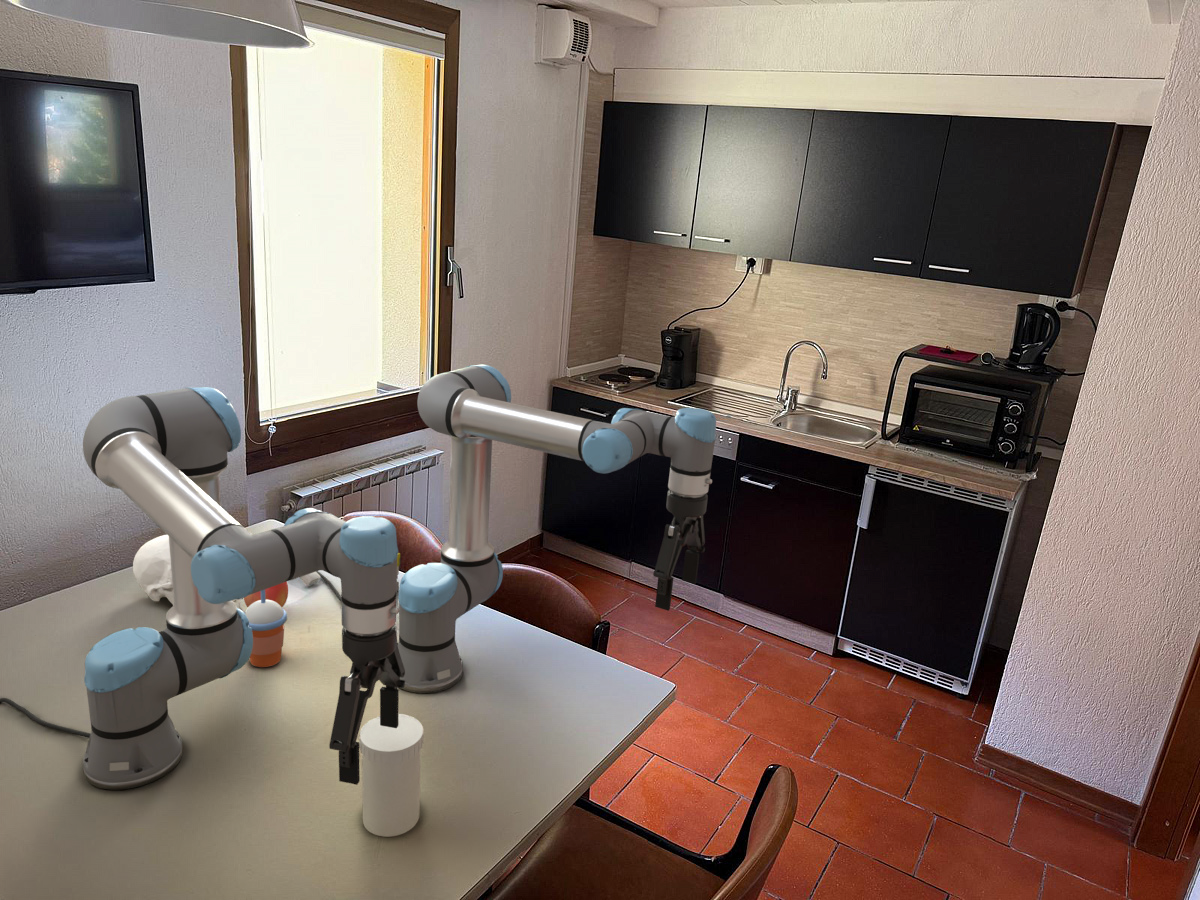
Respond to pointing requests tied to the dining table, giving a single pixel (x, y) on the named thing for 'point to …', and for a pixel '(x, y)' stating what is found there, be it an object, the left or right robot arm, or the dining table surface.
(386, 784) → the jar
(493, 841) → the dining table surface
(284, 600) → the apple
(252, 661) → the cup with straw
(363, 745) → the lid
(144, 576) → the skull
